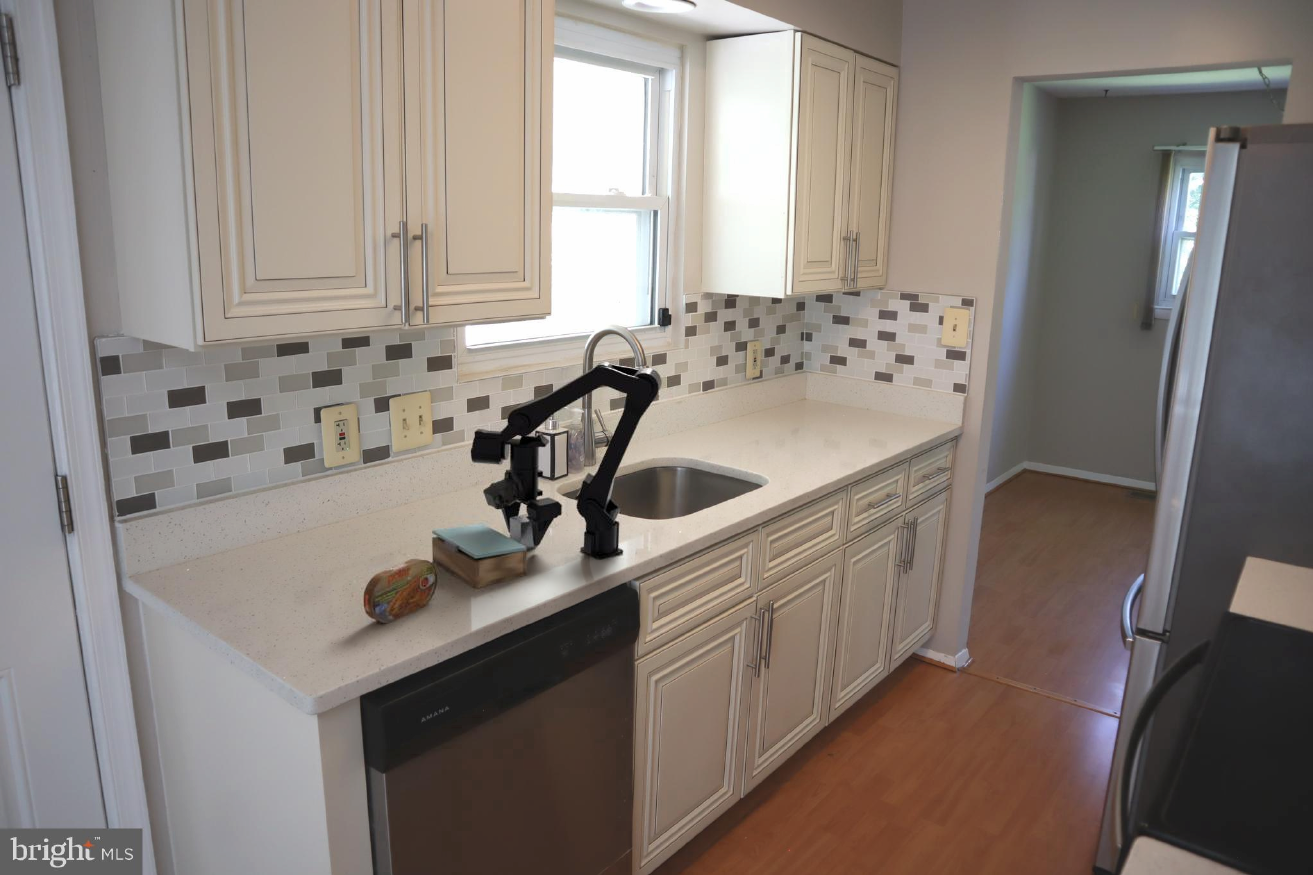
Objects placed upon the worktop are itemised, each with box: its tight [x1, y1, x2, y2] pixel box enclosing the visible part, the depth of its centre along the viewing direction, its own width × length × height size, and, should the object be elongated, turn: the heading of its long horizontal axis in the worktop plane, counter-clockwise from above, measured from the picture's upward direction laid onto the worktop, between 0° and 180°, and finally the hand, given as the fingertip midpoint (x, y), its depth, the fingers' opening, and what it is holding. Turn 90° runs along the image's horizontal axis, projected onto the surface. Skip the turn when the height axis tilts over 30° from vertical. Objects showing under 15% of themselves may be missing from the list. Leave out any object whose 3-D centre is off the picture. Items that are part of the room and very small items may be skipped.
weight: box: [509, 513, 538, 550], centre depth 188 cm, size 4×4×6 cm
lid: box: [431, 523, 528, 558], centre depth 175 cm, size 12×16×1 cm
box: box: [431, 535, 528, 589], centre depth 176 cm, size 11×16×5 cm
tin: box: [363, 558, 439, 624], centre depth 156 cm, size 15×3×8 cm, turn 150°
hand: (523, 539), depth 189 cm, fingers open, 9 cm apart
